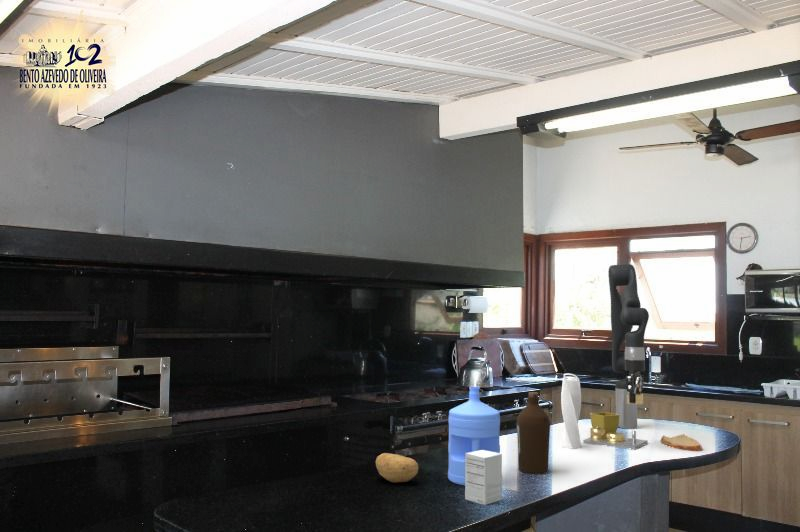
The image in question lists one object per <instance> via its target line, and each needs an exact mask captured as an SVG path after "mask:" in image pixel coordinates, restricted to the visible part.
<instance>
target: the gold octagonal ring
mask: <svg viewBox="0 0 800 532" xmlns="http://www.w3.org/2000/svg"><path fill="white" fill-rule="evenodd" d="M627 403H628V404H637V405H643V404H644V394H643V393H641V394H636V402H635V403H630V402H629V394H627Z"/></svg>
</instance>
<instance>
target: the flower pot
mask: <svg viewBox="0 0 800 532" xmlns="http://www.w3.org/2000/svg"><path fill="white" fill-rule="evenodd" d="M589 416H590V417H589V418H590V423H591V428H596V427H600V428H603V429H605V435H606V433H610V432H614V433H617V430H618V429H619V427H618V424H619V415H618V414H616V413H612V412H603V411H602V412H590V413H589Z"/></svg>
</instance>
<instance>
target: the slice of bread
mask: <svg viewBox="0 0 800 532" xmlns="http://www.w3.org/2000/svg"><path fill="white" fill-rule="evenodd" d="M660 443H661V444H662V445H663V444H664V446H665V445H667V446H666V447H669V446H670V447H669V448H672V447H673V449H677V450H681V451H689V452H702V451H703V449H702V446H701V443H700V442H699V441H697V440H696V439H694V438H692V437H690V436H688V435H685V434H680V435H676V436H672V437H670V436H666V435H662V436H661V438H660Z"/></svg>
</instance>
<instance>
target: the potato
mask: <svg viewBox="0 0 800 532" xmlns="http://www.w3.org/2000/svg"><path fill="white" fill-rule="evenodd" d="M375 467H376V469H377V472H378V473H379V475H380V476H381V477H383V478H384V479H385V480H386V481H388V482H390V483H408V482H409V481H411V480H412V479H414V478H415V477H416V475H417V474H418V473H419V464H418V462H416V460H415V459H413V458H411V457H406V456H404V455H401V454H394V453H389V452H388V453H387V452H384V453H381V454H380V455H378V456H376V460H375Z"/></svg>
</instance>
